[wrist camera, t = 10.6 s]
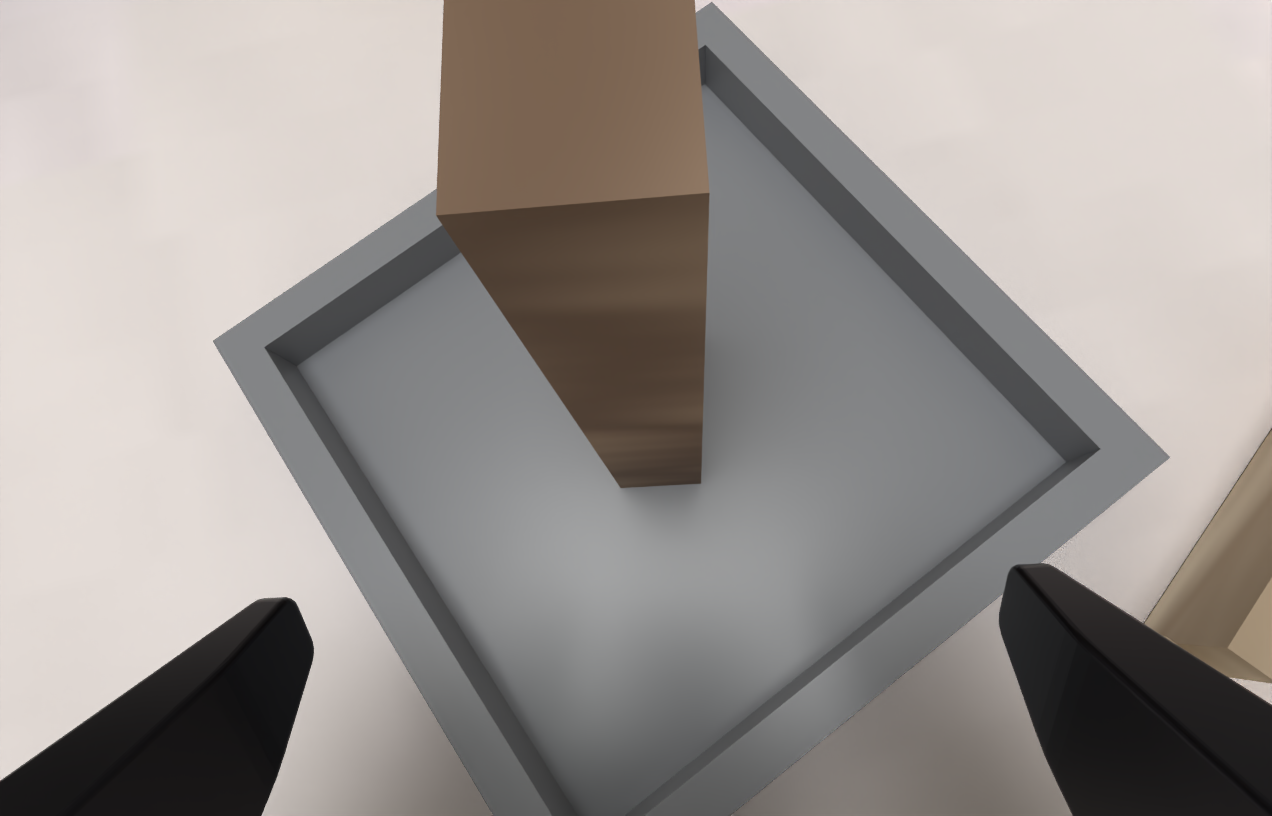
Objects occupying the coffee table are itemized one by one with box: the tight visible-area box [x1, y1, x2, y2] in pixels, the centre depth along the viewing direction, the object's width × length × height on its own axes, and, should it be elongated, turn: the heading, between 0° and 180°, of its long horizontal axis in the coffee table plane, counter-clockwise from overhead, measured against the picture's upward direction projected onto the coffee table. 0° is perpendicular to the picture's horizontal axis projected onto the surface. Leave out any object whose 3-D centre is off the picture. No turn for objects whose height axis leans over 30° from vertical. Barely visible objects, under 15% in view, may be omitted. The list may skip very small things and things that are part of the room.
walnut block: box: [436, 0, 710, 488], centre depth 12 cm, size 2×4×13 cm, turn 2°
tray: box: [213, 2, 1170, 816], centre depth 18 cm, size 16×16×2 cm
